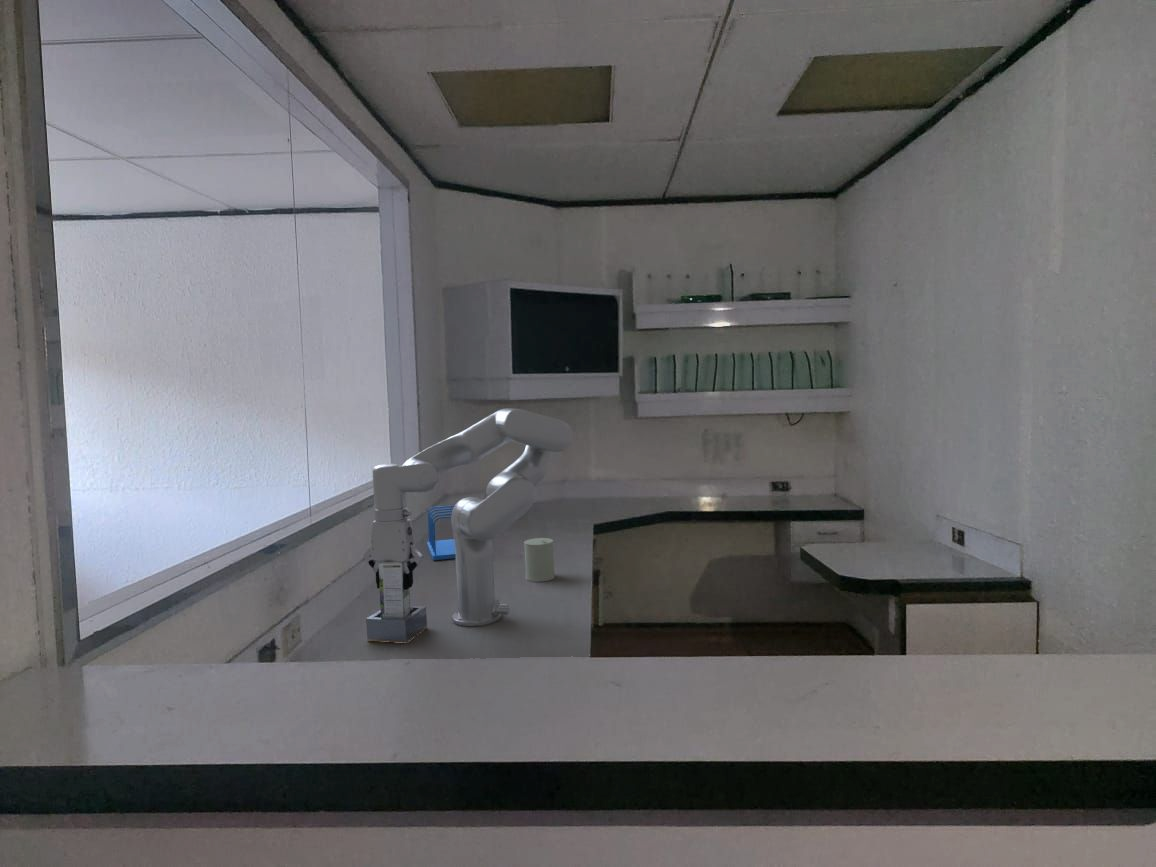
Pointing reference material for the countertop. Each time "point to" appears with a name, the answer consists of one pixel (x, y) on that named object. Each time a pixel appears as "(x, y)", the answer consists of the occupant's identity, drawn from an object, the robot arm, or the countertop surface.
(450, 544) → the file sorter
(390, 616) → the syrup box
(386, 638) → the shadow box frame
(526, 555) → the can
